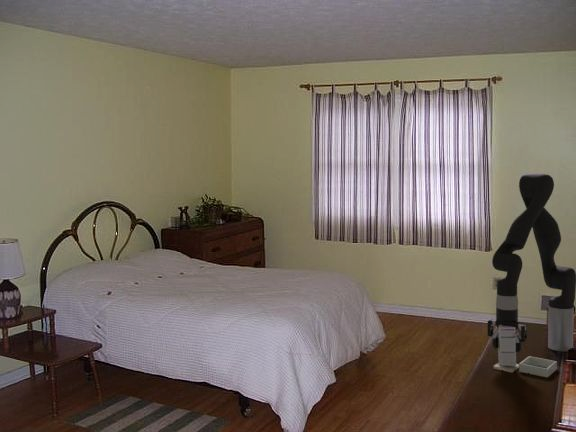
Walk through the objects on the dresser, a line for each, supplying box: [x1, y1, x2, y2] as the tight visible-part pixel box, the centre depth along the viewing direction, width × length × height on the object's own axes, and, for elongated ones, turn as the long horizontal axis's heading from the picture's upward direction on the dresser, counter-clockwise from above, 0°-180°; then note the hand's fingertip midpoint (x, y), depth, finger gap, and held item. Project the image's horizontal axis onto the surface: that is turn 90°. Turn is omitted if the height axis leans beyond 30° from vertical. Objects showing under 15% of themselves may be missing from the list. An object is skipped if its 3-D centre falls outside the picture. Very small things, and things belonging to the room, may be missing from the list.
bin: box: [518, 355, 558, 378], centre depth 222 cm, size 10×10×3 cm
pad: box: [493, 362, 519, 373], centre depth 226 cm, size 7×7×1 cm
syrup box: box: [497, 325, 517, 366], centre depth 225 cm, size 6×6×14 cm
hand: (506, 349), depth 225 cm, fingers closed on syrup box, 7 cm apart
